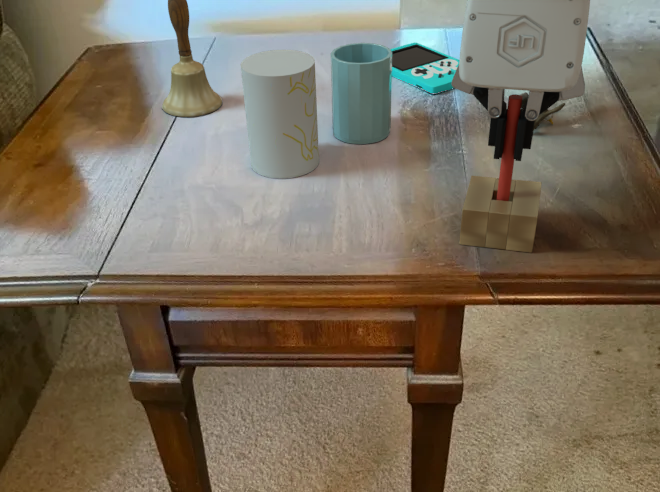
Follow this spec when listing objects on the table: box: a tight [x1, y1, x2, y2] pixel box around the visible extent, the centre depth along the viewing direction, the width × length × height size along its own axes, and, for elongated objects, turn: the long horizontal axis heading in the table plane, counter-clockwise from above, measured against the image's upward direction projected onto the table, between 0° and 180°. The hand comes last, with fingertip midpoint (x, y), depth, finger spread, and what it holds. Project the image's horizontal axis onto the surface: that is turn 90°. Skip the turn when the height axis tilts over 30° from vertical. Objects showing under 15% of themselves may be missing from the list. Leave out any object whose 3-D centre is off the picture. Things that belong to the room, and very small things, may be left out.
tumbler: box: [330, 42, 393, 145], centre depth 94 cm, size 7×7×10 cm
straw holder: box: [458, 175, 543, 254], centre depth 76 cm, size 7×7×4 cm
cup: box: [240, 49, 320, 180], centre depth 87 cm, size 8×8×12 cm
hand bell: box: [161, 0, 223, 118], centre depth 101 cm, size 8×8×16 cm
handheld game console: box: [389, 41, 460, 93], centre depth 112 cm, size 10×16×1 cm, turn 33°
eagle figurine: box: [519, 92, 566, 132], centre depth 95 cm, size 8×7×9 cm
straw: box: [496, 94, 522, 201], centre depth 73 cm, size 1×1×14 cm
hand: (508, 152), depth 72 cm, fingers closed on straw, 1 cm apart
